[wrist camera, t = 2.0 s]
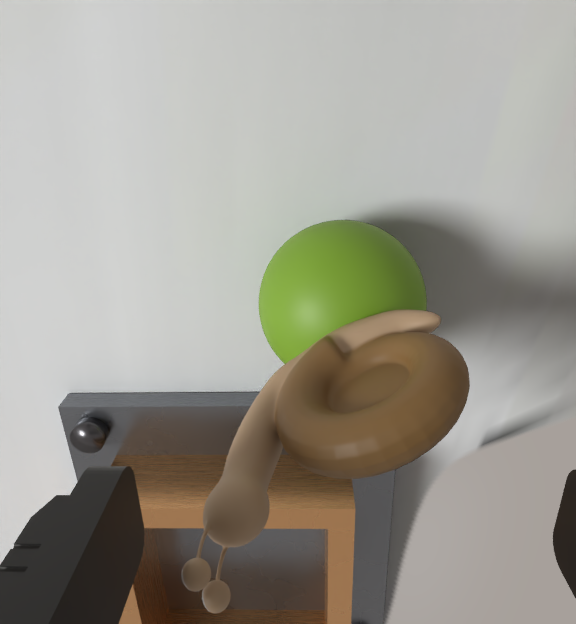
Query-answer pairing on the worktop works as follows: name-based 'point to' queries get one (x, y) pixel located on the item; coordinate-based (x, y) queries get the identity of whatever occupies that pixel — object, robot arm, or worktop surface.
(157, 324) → the worktop surface
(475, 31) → the worktop surface
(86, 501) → the robot arm
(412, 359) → the snail figurine
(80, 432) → the socket plate
